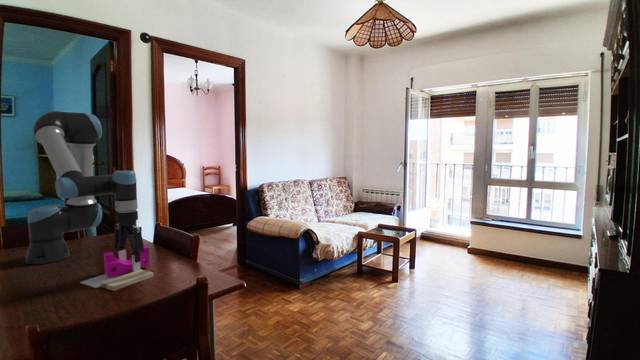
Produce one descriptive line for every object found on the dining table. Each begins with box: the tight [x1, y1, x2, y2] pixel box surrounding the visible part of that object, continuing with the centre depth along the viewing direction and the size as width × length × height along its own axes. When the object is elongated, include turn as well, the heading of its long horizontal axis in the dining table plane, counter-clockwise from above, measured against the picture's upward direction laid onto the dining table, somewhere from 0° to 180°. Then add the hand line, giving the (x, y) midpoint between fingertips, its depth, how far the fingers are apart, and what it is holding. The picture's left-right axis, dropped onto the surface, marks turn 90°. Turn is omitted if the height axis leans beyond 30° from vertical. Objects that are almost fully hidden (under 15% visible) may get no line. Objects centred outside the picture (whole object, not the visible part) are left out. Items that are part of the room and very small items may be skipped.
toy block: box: [103, 245, 151, 277], centre depth 132 cm, size 15×6×8 cm, turn 131°
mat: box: [79, 273, 127, 289], centre depth 126 cm, size 10×13×1 cm
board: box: [100, 268, 154, 291], centre depth 123 cm, size 8×15×2 cm, turn 152°
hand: (129, 268), depth 132 cm, fingers closed on toy block, 8 cm apart
